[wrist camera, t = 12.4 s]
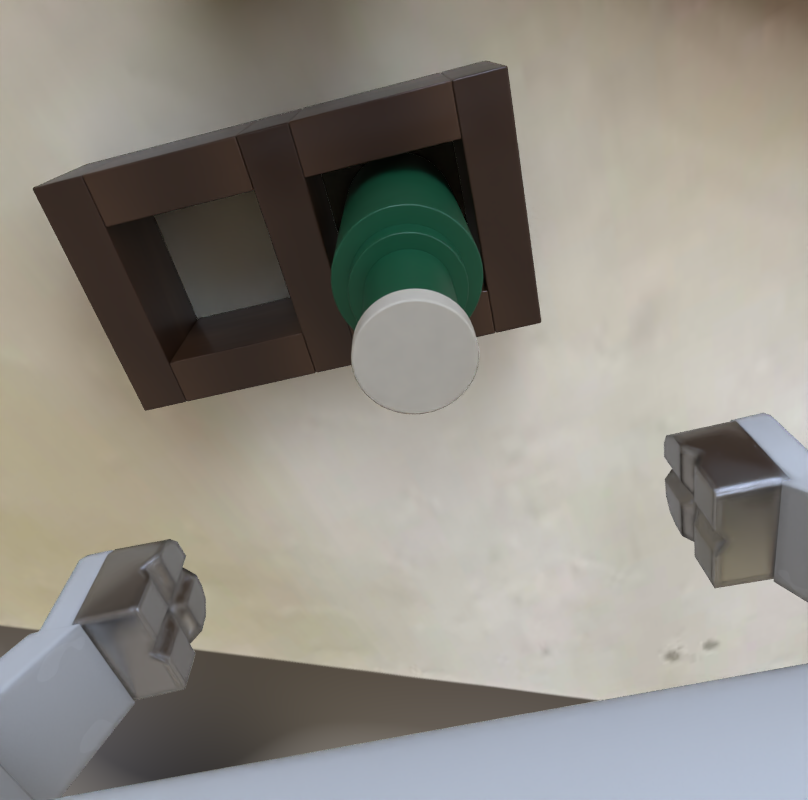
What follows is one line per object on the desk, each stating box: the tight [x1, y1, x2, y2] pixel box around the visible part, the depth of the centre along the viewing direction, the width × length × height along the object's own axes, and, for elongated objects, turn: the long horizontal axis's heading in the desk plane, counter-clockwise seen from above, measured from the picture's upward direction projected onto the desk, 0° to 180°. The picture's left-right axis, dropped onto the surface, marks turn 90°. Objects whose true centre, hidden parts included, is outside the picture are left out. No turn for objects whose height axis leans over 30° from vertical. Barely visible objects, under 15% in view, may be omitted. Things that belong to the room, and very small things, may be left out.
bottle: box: [331, 153, 483, 414], centre depth 23 cm, size 5×5×16 cm
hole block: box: [33, 61, 541, 410], centre depth 28 cm, size 18×10×5 cm, turn 103°
